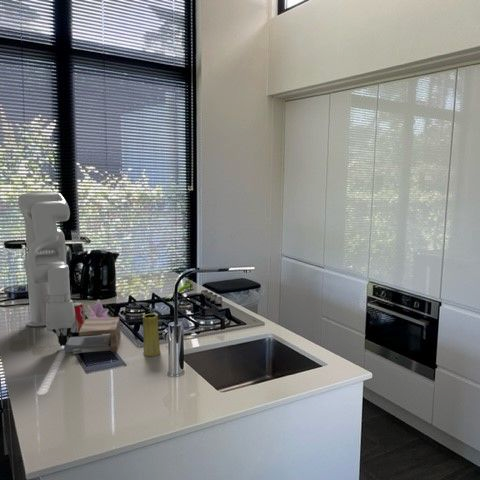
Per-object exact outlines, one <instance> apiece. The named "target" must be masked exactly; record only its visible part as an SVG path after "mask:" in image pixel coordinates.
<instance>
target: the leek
mask: <svg viewBox="0 0 480 480" xmlns="http://www.w3.org/2000/svg"><path fill="white" fill-rule="evenodd" d="M192 281H193V279H188V280H187V279H186V280H185V281H184V283H183V282H182V286H180V287H179V288H178V289H179V294H180V293H181V292H183V291H185V290H186V289H189V290H191V289H192V288H193V287H194V286H193V285H194V284H193V283H192ZM172 297H173V292H172V293H170V294H169V295H167V296H166V297H165V298H164V300H165V299H166V300H170V299H171V298H172Z"/></svg>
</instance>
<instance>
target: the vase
mask: <svg viewBox="0 0 480 480" xmlns="http://www.w3.org/2000/svg"><path fill="white" fill-rule="evenodd" d="M158 319H159V318H158V314H157V313H147V314H144V315H143V316H142V325H143V326H142V329H143V331H142V333H143V353H142V354H143V355H144V356H145V357H156V356H158V355H160V354H161V347H160V334H159V320H158Z"/></svg>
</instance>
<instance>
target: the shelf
mask: <svg viewBox="0 0 480 480" xmlns="http://www.w3.org/2000/svg"><path fill="white" fill-rule="evenodd" d="M120 320H121V319H120V316H115V317H114V316H113V317H110V316H109V318H94V319H92V318H85V322H84V324H83V325H82V327H81V329H80V331H79V333H78V337H81V336H97V335H110V340H111V346H100V347H87V348H79V349H74V350H73V352H72V355H77V354H81V353H93V352H94V353H95V352H107V351H110V352H111V353H112V352H117V351H118V347H119V344H120V340H121V321H120Z"/></svg>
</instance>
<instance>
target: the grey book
mask: <svg viewBox="0 0 480 480" xmlns="http://www.w3.org/2000/svg"><path fill="white" fill-rule="evenodd" d="M100 346H111V340H110V334H98V335H84V336H70V337H69V338H68V339H67V343H66V344H65V346H63V350H64V353H73V350H74V349H79V348H87V347H100Z"/></svg>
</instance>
